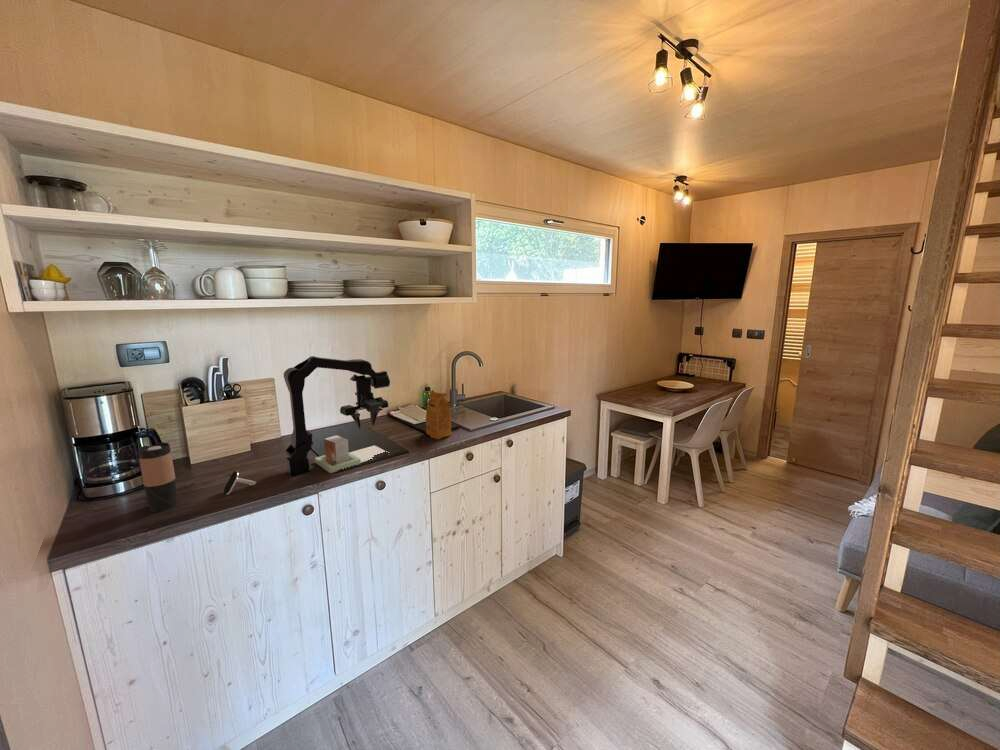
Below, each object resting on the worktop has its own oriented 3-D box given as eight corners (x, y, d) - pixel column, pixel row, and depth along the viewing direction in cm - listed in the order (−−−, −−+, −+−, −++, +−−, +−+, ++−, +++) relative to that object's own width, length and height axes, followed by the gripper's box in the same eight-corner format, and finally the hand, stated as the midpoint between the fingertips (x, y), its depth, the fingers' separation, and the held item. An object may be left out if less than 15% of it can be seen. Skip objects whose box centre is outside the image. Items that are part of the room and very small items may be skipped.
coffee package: (441, 430, 200) (440, 387, 195) (454, 436, 190) (453, 391, 186) (423, 434, 194) (421, 390, 190) (435, 441, 184) (434, 395, 180)
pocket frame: (330, 473, 150) (329, 468, 150) (315, 463, 160) (314, 457, 159) (360, 464, 159) (360, 459, 158) (344, 454, 168) (344, 449, 168)
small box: (325, 463, 159) (323, 438, 157) (338, 459, 164) (336, 434, 162) (336, 468, 155) (334, 442, 153) (349, 463, 159) (347, 438, 157)
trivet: (361, 463, 159) (360, 462, 159) (346, 454, 168) (346, 453, 168) (390, 454, 168) (389, 453, 168) (374, 446, 177) (374, 445, 177)
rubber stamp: (226, 496, 132) (238, 473, 134) (222, 492, 135) (234, 469, 137) (249, 501, 138) (261, 478, 139) (245, 496, 141) (256, 474, 143)
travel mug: (168, 512, 123) (157, 451, 119) (141, 513, 123) (130, 451, 119) (185, 499, 131) (175, 442, 127) (160, 500, 130) (150, 442, 126)
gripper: (351, 397, 151) (353, 436, 154) (394, 389, 164) (396, 426, 167) (338, 392, 158) (341, 430, 161) (380, 385, 172) (382, 420, 175)
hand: (366, 426), depth 166 cm, fingers open, 6 cm apart
